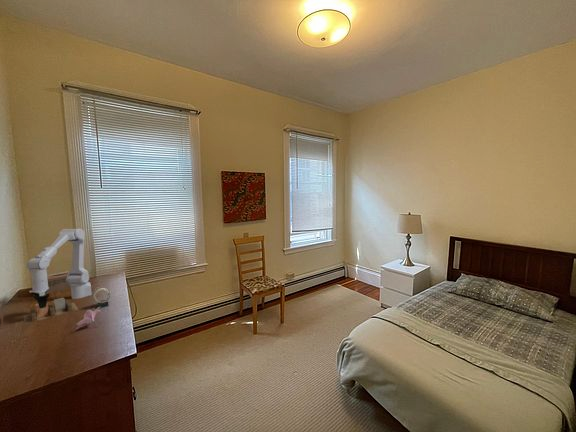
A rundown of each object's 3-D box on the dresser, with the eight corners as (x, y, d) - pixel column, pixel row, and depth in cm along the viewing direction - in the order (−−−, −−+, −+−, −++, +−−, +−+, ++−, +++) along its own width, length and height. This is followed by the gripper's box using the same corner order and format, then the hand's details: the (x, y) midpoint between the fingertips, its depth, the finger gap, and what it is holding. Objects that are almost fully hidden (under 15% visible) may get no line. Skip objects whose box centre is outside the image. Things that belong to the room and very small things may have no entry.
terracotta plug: (47, 312, 128) (46, 301, 128) (48, 314, 126) (47, 303, 125) (36, 315, 125) (35, 304, 125) (37, 317, 123) (36, 306, 122)
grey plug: (64, 307, 134) (63, 297, 133) (65, 309, 131) (64, 299, 131) (54, 310, 131) (53, 299, 130) (55, 312, 128) (54, 301, 128)
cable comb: (73, 304, 140) (73, 297, 140) (78, 311, 132) (78, 304, 131) (23, 317, 125) (22, 310, 125) (25, 326, 116) (24, 318, 116)
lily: (106, 320, 124) (96, 305, 123) (113, 317, 117) (101, 301, 116) (79, 338, 114) (67, 321, 113) (85, 336, 107) (72, 319, 106)
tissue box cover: (82, 281, 180) (81, 268, 179) (86, 285, 171) (85, 272, 170) (32, 291, 161) (31, 277, 160) (34, 297, 151) (32, 282, 150)
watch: (112, 306, 137) (111, 288, 136) (94, 311, 131) (93, 291, 130) (111, 303, 141) (110, 285, 140) (94, 307, 135) (92, 289, 135)
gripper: (27, 279, 126) (29, 304, 127) (29, 286, 117) (32, 312, 118) (46, 276, 131) (48, 299, 132) (49, 282, 122) (52, 307, 123)
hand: (42, 305), depth 125 cm, fingers open, 7 cm apart
